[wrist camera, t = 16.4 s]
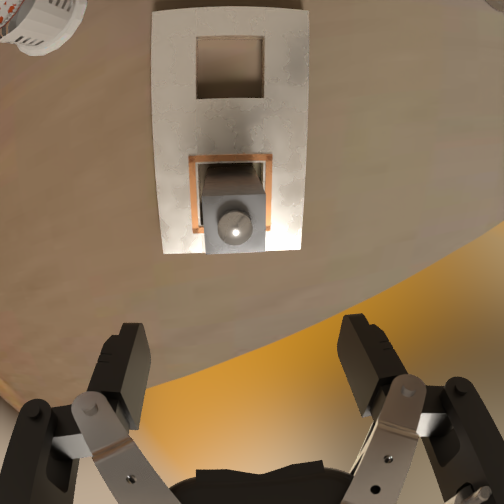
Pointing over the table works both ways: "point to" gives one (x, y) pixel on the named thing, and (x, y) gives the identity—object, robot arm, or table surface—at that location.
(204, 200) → the block with round knob
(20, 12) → the french press
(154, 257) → the table surface
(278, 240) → the rail plate
